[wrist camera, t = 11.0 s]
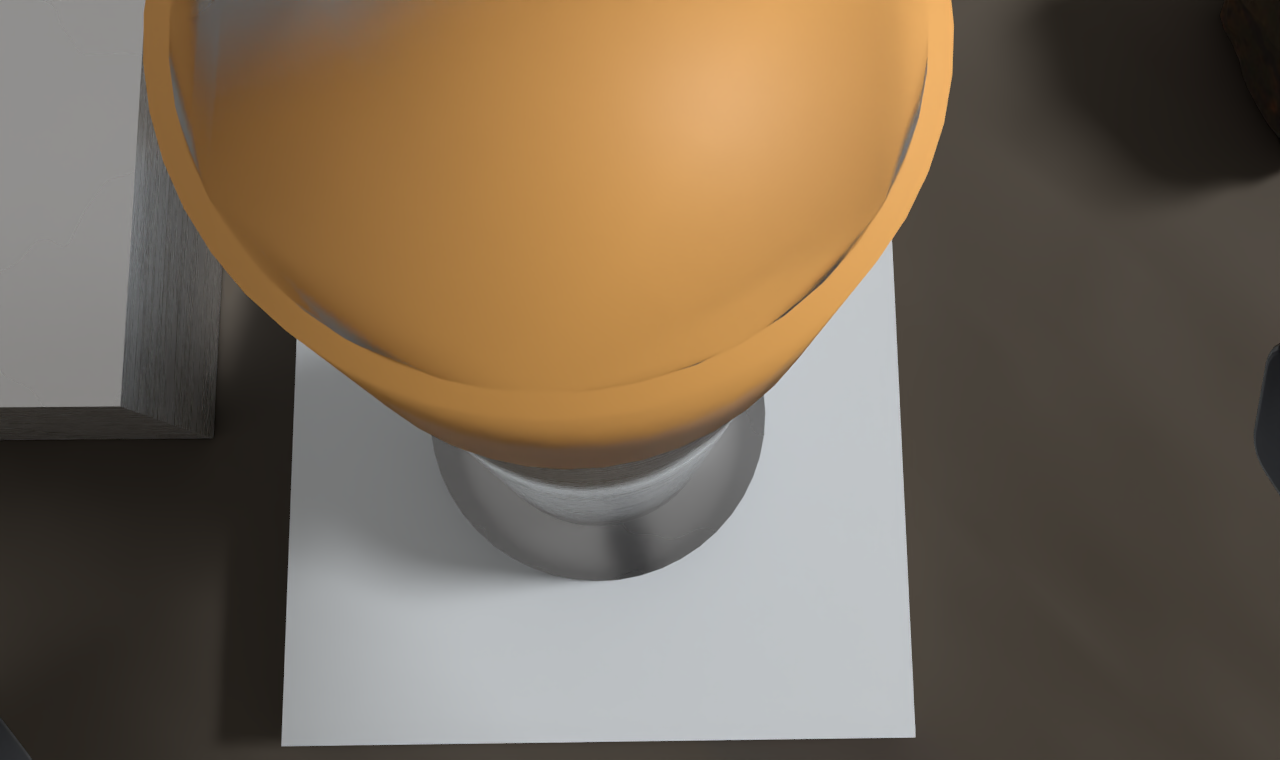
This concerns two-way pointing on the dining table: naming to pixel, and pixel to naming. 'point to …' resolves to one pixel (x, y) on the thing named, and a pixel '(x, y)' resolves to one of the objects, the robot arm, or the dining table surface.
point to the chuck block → (95, 239)
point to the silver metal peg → (556, 225)
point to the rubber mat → (608, 582)
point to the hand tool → (1257, 51)
